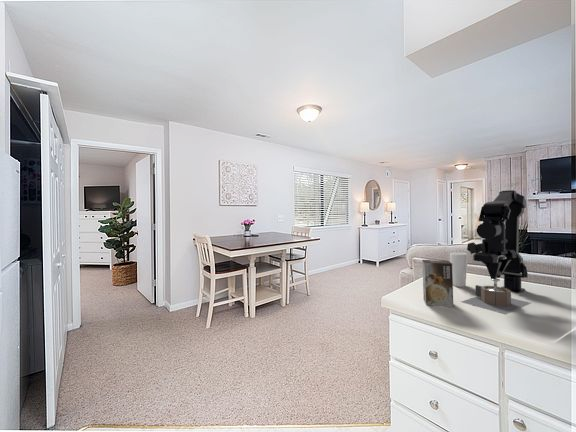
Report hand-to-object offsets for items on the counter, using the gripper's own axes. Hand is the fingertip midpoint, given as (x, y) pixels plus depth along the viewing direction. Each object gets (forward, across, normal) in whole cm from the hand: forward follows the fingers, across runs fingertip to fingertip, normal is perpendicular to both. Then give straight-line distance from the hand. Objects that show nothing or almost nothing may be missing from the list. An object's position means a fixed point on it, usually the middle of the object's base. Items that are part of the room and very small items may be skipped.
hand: (495, 278), depth 97 cm
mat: (+9, 0, 0) cm, 9 cm away
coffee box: (+10, +18, -11) cm, 23 cm away
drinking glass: (+10, -11, -19) cm, 24 cm away
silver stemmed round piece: (+5, 0, 0) cm, 5 cm away
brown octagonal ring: (+9, 0, -1) cm, 9 cm away
